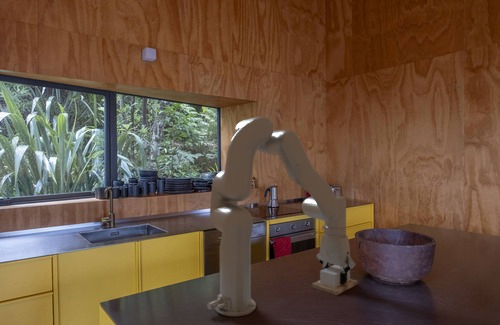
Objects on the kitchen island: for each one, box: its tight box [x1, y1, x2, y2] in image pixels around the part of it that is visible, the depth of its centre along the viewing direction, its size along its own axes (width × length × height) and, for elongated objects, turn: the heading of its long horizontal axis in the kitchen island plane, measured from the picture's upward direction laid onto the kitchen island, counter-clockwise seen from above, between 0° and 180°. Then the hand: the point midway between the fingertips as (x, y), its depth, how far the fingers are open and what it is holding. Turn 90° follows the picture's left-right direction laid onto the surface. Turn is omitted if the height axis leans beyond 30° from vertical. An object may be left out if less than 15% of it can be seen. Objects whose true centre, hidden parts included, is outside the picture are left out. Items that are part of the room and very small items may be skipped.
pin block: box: [311, 278, 359, 296], centre depth 124 cm, size 14×10×4 cm
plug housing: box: [319, 264, 351, 288], centre depth 124 cm, size 10×6×4 cm, turn 134°
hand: (335, 280), depth 124 cm, fingers closed on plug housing, 6 cm apart
